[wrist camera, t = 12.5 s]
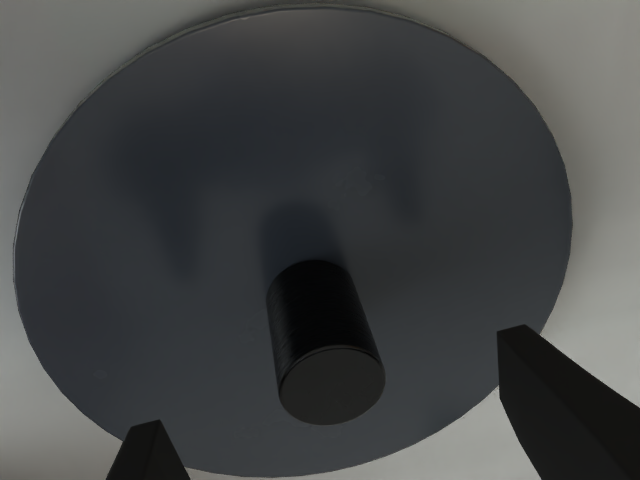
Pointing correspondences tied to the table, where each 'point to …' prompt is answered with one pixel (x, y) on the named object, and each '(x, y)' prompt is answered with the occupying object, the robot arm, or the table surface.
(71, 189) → the lid
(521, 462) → the table surface
